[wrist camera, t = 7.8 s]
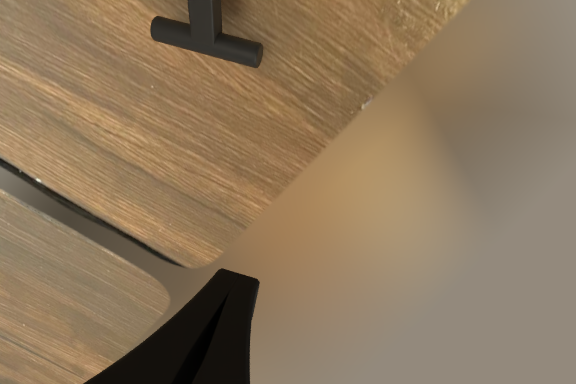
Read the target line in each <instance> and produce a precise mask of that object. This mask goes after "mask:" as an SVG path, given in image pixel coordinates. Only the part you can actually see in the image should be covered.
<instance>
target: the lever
mask: <svg viewBox="0 0 576 384" xmlns="http://www.w3.org/2000/svg"><path fill="white" fill-rule="evenodd" d="M188 10H189V19H190V24H187V23H183V22H179V21H176V20H172V19H168V18H164V17H161V16H156V17H154V19H153V20H152V23H151V36H152V38H153V39H154V40H155V41H158V42H161V43H165V44H169V45H172V46H176V47H180V48H183V49H187V50H191V51H194V52H198V53H202V54H205V55H209V56H213V57H216V58H220V59H224V60H227V61H231V62H235V63H238V64H242V65H246V66H250V67H253V68H258V66H259V65H260V63H261V59H262V55H263V45H262V44H261V43H258V42H254V41H251V40H247V39H243V38H239V37H236V36H232V35H228V34H224V33H222V13H221V0H188Z"/></svg>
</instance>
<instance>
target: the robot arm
mask: <svg viewBox="0 0 576 384" xmlns="http://www.w3.org/2000/svg"><path fill="white" fill-rule="evenodd" d="M259 283H260V282H259V281H258V279H255V278H253V277H249V276H246V275H242V274H239V273H235V272H232V271H229V270H226V269H219V270H218V271H217V272H216V273H215V275H214V276H213V277H212V278H211V279H210V280H209V282H208V283H207V284H206V285H205V286H204V287H203V288H202V289H201V290H200V291H199V292H198V293H197V294H196V295H195V296H194V297H193V298H192V299H191V300H190V301H189V302H188V303H187V304H186V305H185V306H184V307H183V308H182V309H181V310H180V311H179V312H178V313H177V314H175V315H174V316H173V317H172V318H171V319H170V320H169V321H167V322H166V323H165V324H164V325H163V326H161V327H160V328H159V329H158V330H157V331H156V332H154V333H153V334H152V335H151V336H150V337H148V338H147V339H146V340H145V341H143V342H142V343H141V344H140V345H138V346H137V347H136V348H134V349H133V350H132V351H130V352H129V353H128V354H126V355H125V356H123V357H122V358H121V359H119V360H118V361H116V362H115V363H113V364H112V365H111V366H109V367H108V368H106V369H105V370H103V371H102V372H100V373H99V374H97V375H96V376H94V377H93V378H91V379H90V380H88V381H87V382H85V383H83V384H250V360H249V359H250V333H251V320H252V317H253V312H254V307H255V303H256V298H257V293H258V288H259Z"/></svg>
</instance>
